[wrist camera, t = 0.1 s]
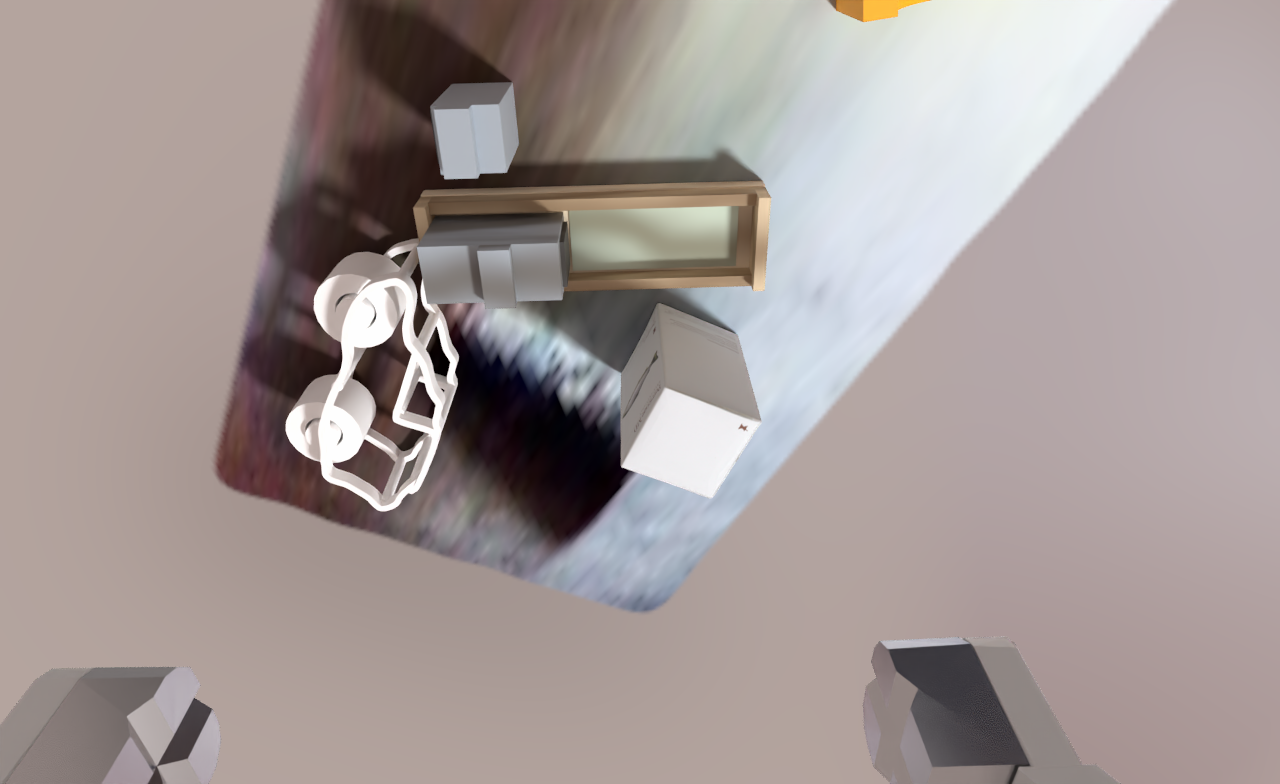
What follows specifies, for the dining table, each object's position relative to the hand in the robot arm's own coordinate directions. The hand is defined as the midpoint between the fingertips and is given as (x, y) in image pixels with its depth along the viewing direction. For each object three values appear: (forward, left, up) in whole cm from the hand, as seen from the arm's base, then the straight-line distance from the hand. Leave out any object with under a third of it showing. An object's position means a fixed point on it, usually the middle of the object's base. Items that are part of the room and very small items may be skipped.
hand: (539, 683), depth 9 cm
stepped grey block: (+3, -8, -48) cm, 49 cm away
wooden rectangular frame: (+12, -1, -48) cm, 49 cm away
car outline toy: (+21, -18, -48) cm, 56 cm away
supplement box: (+22, +5, -48) cm, 53 cm away
